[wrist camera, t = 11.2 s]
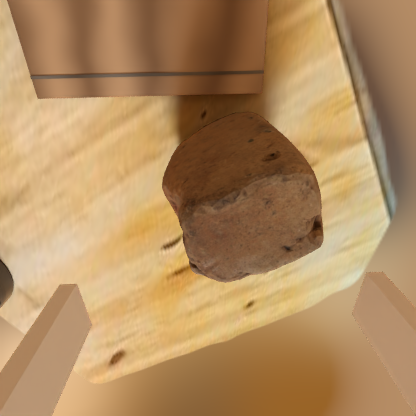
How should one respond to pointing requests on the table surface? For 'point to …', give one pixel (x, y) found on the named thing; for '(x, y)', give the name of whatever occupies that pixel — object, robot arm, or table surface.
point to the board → (142, 46)
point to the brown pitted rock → (243, 198)
